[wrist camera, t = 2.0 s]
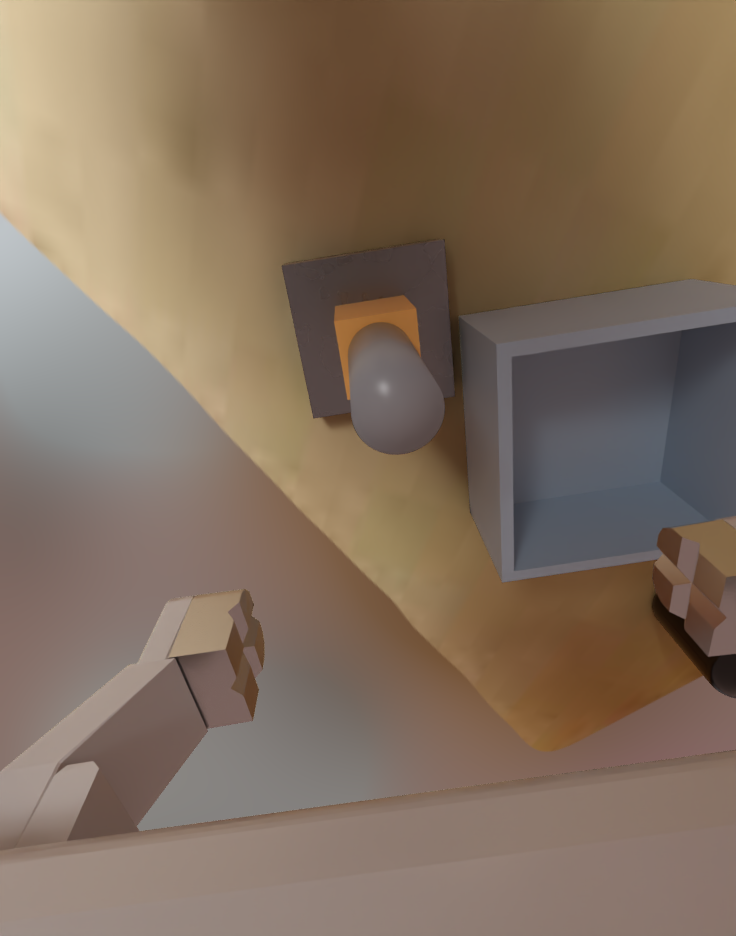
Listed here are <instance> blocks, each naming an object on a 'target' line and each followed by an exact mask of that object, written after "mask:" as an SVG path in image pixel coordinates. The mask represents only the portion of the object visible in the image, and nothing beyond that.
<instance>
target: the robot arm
mask: <svg viewBox="0 0 736 936" xmlns="http://www.w3.org/2000/svg"><path fill="white" fill-rule="evenodd" d="M657 547H658V548H659V549H660V551H661V552H662V553H663V554H662V555H661V557H660V558H659V559H658V560H657V561H656V562H655V563H654V567H653V577H652V579H653V583H654V587H655V591H656V593H657V595H658V597H659V599H660V601H661V602H662V604H663V605H664V606H665V607H666V608H667V610H668V611H669V612H671V613H673V614H675V615H677V616H679V617H681V618H683V619H685V624H684V630H685V631H686V632H687V633H688V634H689V635H690V636H691V638H692V639H693V640H694V641H695V642H696V643H697V645H698V646H699V647H700V648H701V649H702V650H703V651H704V653H705V654H706V655H707V656H708V657H711V656H719V655H728V654H736V516H731V517H725V518H720V519H715V520H713V521H706V522H699V523H692V524H686V525H679V526H673V527H666V528H662V530H661V531H660V533H659V535H658V540H657ZM253 606H254V603H253V601H252V598H251V596H250V593H249V591H247V590H246V589H241V590H233V591H226V592H217V593H210V594H201V595H197V596H188V597H180V598H173V599H171V600H170V601H168V602H167V603H166V605H165V607H164V609H163V611H162V613H161V615H160V617H159V619H158V621H157V623H156V625H155V627H154V630H153V632H152V634H151V636H150V638H149V640H148V642H147V644H146V646H145V648H144V650H143V652H142V655H141V657H140V659H139V661H138V663H136V664H130V665H128V666H127V667H126V668H125V669H123V670H122V671H121V672H120V673H119V674H117V675H116V676H115V677H114V678H113V679H111V680H110V681H109V682H108V683H107V684H105V685H104V686H103V687H102V688H100V689H99V690H98V691H97V692H96V693H95V694H93V695H92V696H91V697H90V698H88V699H87V700H86V701H85V702H84V703H82V704H81V705H80V706H79V707H78V708H77V709H75V710H74V711H73V712H72V713H70V714H69V715H68V716H67V717H66V718H65V719H63V720H62V721H61V722H60V723H58V724H57V725H56V726H55V727H53V728H52V729H51V730H50V731H49V732H48V733H46V734H45V735H44V736H43V737H42V738H40V739H39V740H38V741H37V742H35V743H34V744H33V745H32V746H31V747H29V748H28V749H27V750H26V751H25V752H23V753H22V754H21V755H20V756H19V757H17V758H16V759H15V760H14V761H13V762H11V763H10V764H9V765H8V766H6V767H5V768H4V769H3V770H2V771H1V772H0V936H736V750H732V751H724V752H718V753H710V754H703V755H695V756H688V757H681V758H674V759H666V760H659V761H652V762H645V763H637V764H630V765H623V766H615V767H608V768H601V769H593V770H586V771H579V772H571V773H564V774H556V775H549V776H542V777H534V778H527V779H519V780H512V781H505V782H497V783H490V784H483V785H476V786H468V787H461V788H453V789H446V790H438V791H431V792H424V793H416V794H409V795H402V796H394V797H387V798H380V799H373V800H365V801H358V802H350V803H343V804H336V805H329V806H322V807H314V808H306V809H299V810H292V811H285V812H277V813H270V814H262V815H255V816H248V817H240V818H233V819H226V820H218V821H212V822H204V823H197V824H189V825H182V826H174V827H167V828H161V829H153V830H145V831H139V830H138V828H137V827H136V826H137V825H138V824H139V822H140V821H141V820H142V818H143V817H144V815H145V814H146V813H147V812H148V810H149V809H150V808H151V806H152V805H153V804H154V802H155V801H156V800H157V798H158V797H159V796H160V794H161V793H162V792H163V790H164V789H165V788H166V786H167V785H168V784H169V782H170V781H171V780H172V778H173V777H174V776H175V774H176V773H177V772H178V770H179V769H180V768H181V766H182V765H183V763H184V762H185V761H186V760H187V758H188V757H189V756H190V754H191V753H192V752H193V750H194V749H195V748H196V746H197V745H198V744H199V742H200V741H201V740H202V738H203V737H204V735H205V734H206V733H207V732H208V730H207V729H208V728H214V727H219V726H226V725H231V724H237V723H243V722H249V721H253V717H254V712H255V707H256V701H257V696H258V691H259V689H258V686H257V683H256V680H255V678H256V676H257V675H258V674H259V673H260V672H261V671H262V669H263V663H264V638H263V632H262V628H261V625H260V622H259V621H258V620H257V619H255V618H254V617H252V616H251V615H252V611H253Z"/></svg>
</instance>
